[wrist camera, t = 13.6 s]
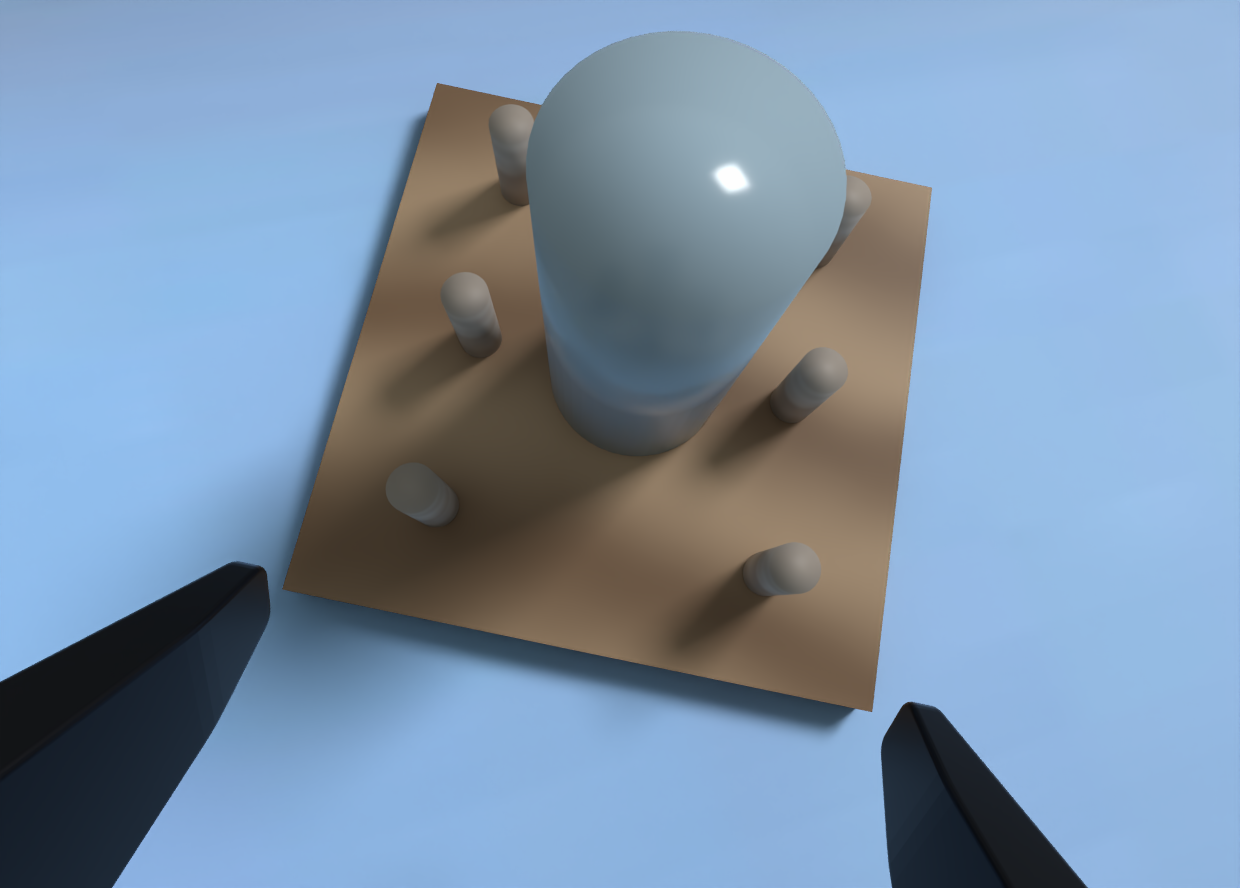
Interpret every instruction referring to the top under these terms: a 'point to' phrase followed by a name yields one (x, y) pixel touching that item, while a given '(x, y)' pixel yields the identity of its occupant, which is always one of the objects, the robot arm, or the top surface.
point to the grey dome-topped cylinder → (672, 227)
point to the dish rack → (608, 482)
